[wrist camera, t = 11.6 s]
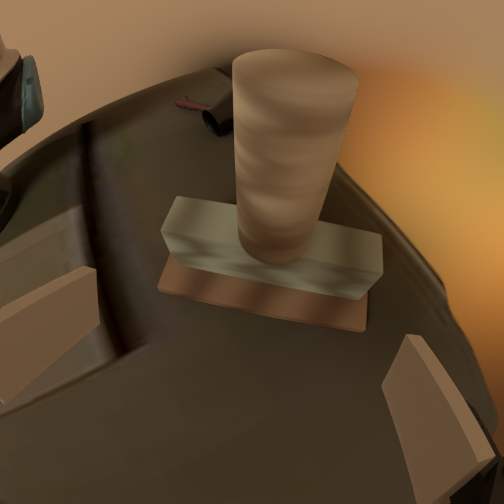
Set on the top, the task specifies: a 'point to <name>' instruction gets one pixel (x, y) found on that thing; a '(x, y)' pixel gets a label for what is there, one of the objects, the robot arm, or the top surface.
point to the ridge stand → (270, 268)
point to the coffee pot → (213, 113)
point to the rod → (286, 146)
